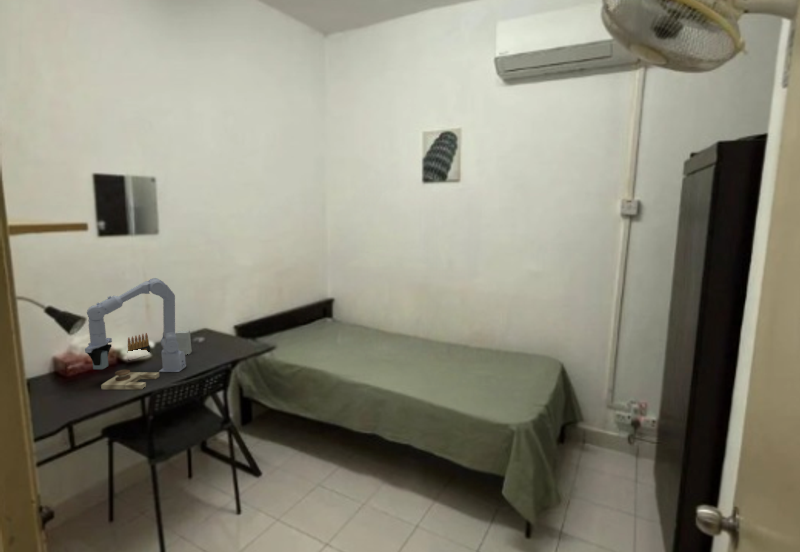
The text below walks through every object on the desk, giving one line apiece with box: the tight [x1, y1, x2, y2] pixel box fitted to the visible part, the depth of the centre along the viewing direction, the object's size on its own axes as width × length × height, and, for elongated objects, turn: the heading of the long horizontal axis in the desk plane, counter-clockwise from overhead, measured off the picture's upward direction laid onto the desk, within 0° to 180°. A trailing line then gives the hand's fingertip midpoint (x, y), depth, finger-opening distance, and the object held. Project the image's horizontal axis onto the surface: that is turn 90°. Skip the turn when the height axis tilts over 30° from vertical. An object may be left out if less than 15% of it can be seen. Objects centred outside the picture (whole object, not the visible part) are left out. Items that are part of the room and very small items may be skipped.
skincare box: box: [175, 330, 192, 356], centre depth 226 cm, size 6×4×12 cm
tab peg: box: [91, 351, 109, 370], centre depth 188 cm, size 4×4×7 cm
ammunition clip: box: [127, 332, 151, 353], centre depth 220 cm, size 11×2×12 cm, turn 151°
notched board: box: [100, 369, 160, 390], centre depth 189 cm, size 17×14×5 cm
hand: (100, 363), depth 188 cm, fingers closed on tab peg, 4 cm apart
